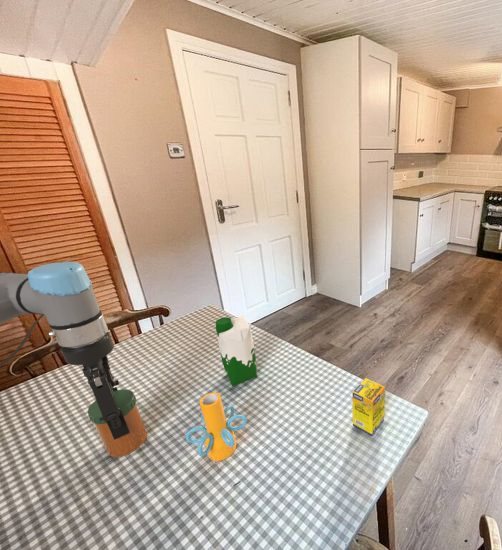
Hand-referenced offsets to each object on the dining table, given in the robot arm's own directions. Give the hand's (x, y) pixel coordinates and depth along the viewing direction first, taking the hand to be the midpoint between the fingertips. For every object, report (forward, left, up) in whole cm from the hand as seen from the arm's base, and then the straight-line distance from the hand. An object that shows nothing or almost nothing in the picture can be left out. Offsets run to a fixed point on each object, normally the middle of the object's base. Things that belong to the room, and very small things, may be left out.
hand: (119, 422), depth 69 cm
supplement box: (+34, +46, -6) cm, 58 cm away
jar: (0, 0, -6) cm, 6 cm away
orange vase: (+17, +16, -6) cm, 24 cm away
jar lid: (0, 0, +6) cm, 6 cm away
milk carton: (-5, +29, -6) cm, 30 cm away
